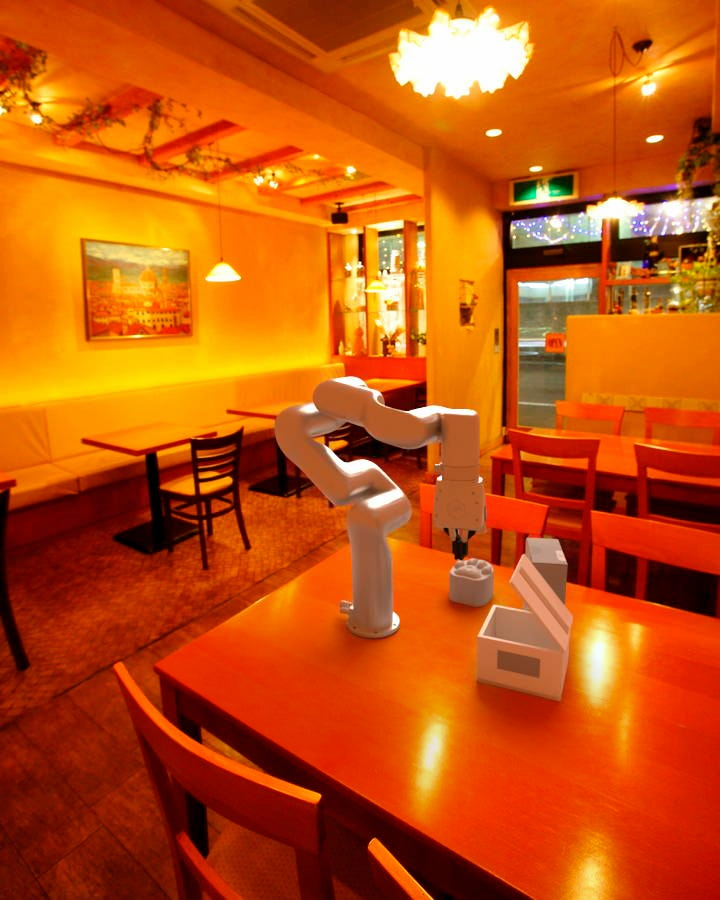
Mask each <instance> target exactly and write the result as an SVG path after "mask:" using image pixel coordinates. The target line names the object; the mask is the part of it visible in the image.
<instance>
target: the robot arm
mask: <svg viewBox="0 0 720 900" xmlns="http://www.w3.org/2000/svg"><path fill="white" fill-rule="evenodd" d="M346 423H350V424H354V425H356V426H359V427H362V428H364V429H365V431H366V432H367V433H368V434H369V435H370V436H371V437H373V438H374V439H375V440H377V441H380V442H382V443H384V444H387V445H391V446H394V447H396V448H401V449H405V450H415V449H419V448H422V447H425V446H428V445H430V444H435V443H439V442H440V463H439V464H436V463H435V464H434V472H438V473H439V474H440V475H439V477H437V478H436V482H435V489H434V496H433V497H434V498H433V510H432V519H433V523H434V525H433V527H434V528H435V529H437V530H439V531H443V532H444V533H445V534H446V535H447V536H448V537H449V539H450V541H451V554H452V555H453V556H454V560H456V561H459V560H460V561H464V559H465V558H466V556H468V554H469V540H470V539H471V538H472V537H473V536H476V535H477V536H478V535H485V534H486V532H487V531H488V529H487V525H486V522H487V501H486V499H487V498H486V492H485V485H484V480H483V478H482V477H480V446H481V445H480V439H481V438H480V437H481V436H480V435H481V434H480V433H481V432H480V430H481V429H480V427H481V426H480V423H481V421H480V416H479V413H478V412H476V411H475V410H473V409H472V410H471V409H462V408H461V409H452V408H447V407H443V406H439V405H429V406H425V407H421V408H416V409H412V410H409V411H405V410H401V409H398V408H397V409H396V408H392V407H389V406H387V405H385V399H384V395H383V394H382V393H381V392H380V391H379V390H376V389H372V388H369V387H368V385H367V384H366V383H365V382H364V381H363V380H362V379H360V378H359V377H355V376H346V377H339V378H331V379H326V380H324V381H322V382H320V383H319V384H317V386H315V388H314V390H313V393H312V401H311V402H306V403H301V404H296V405H292V406H289V407H287V408H285V409H283V410H281V412H280V413H278V414H277V416H276V418H275V421H274V427H273V428H274V435H275V439H276V442H277V443H276V444H277V445H278V447H279V448H280V450H281V451H282V453H283V454H284V455H285V457H286V458H288V460H290V461H291V463H293V464H294V465H295V466H296V467H298V468H299V469H300V470H301V471H302V472H303V474H305V475H306V476H307V478H308V479H309V480H310V482H312V483H313V484H314V486H315V487H316V488H317V489H318V490H319V491H320V492H321V493H322V494H323V496H325V498H326V499H327V500H328V501H329V502H330V503H332V504H333V505H334V506H338V507H345V506H347V505H351V504H353V503H354V504H353V505H352V506H351V507H350V508H349V510H348V511H347V513H346V516H345V517H346V519H345V523H346V524H345V525H346V530H347V534H348V539H349V544H350V554H351V574H352V575H351V576H352V577H351V581H352V602H350V601H346V600H340V602H339V613H340V614H344V615H345V614H346V615H348V618H347V623H346V625H347V626H346V627H347V629H348V630H349V631H350V632H351V633H352V634H354V635H356V636H358V637H362V638H365V639H378V638H384V637H388V636H390V635H393V634H394V633H395V632H397V631H398V630H399V629H400V626H401V625H400V624H401V623H400V622H401V621H400V617H399V616H398V615H397V613H395V612H394V581H393V580H394V579H393V578H394V577H393V574H394V573H393V572H394V571H393V552H392V550H391V546H390V545H389V543H388V539H387V535H388V534H390V533H392V532H394V531H395V530H398V529H399V528H401V527H403V526H404V525H405V524H407V523H408V521H410V520H411V516H412V503H411V502H410V500H409V498H408V496H407V495H406V494H405V492H404V491H403V490H402V489H401V488H400V487H399V486H398V485H397V484H396V483H395V482H394V481H393V480H392V478H390V477H389V476H388V475H387V474H386V473H385V472H384V471H383V469H382V468H380V467H379V466H378V465H377V464H376V463H374V462H372V461H369V460H367V459H356V460H352V461H349V462H344V461H343V460H342V459H340V458H339V457H338V456H337V455H336V454H335V453H334V452H333V450H332V449H330V447H328V446H326V445H325V444H323V443H320V442H318V441H317V440H315V439H313V438H315V437H318V436H323V435H325V434H330V433H332V432H334V431H336V430H338V429H339V428H341V427H342V426H343V425H345V424H346ZM460 530H462V532H461V535H460V532H459V531H460Z"/></svg>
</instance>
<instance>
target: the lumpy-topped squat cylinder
mask: <svg viewBox="0 0 720 900" xmlns="http://www.w3.org/2000/svg"><path fill="white" fill-rule="evenodd" d="M494 569H495V568H494V567H493V565H492V564H491V563H489V562H488V561H486V560H483V559H478V558H475V557H474V558H469V559H466V560H462V561H461V560H459V559H458V560H456V562H455V563H454V565H453V566H452V568H451V569H450V570H449V586H448V587H449V589H448V591H449V593H448V594H449V595H448V597H449V600H451V601H452V602H454V603H459V604H463V605H468V606H470V607H475V608H476V607H479V608H480V607H482V606H485V605H487V604H488V603H489V602H490V601H491V600H492V598H493V597H494V583H495V582H494V579H495V570H494Z"/></svg>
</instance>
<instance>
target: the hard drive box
mask: <svg viewBox="0 0 720 900" xmlns="http://www.w3.org/2000/svg"><path fill="white" fill-rule="evenodd" d="M525 555H526V556H527V558H528V559H529V560H530V562H531V563H532V564H533V565H534V567H535V568H536V569H537V571H538V572H539V573H540V574H541V576H542V577H543V578H544V580H545V581H546V582H547V583H548V585H549V586H550V587H551V589H552V590H553V591H554V592H555V594H556V595H557V596H558V598H559V599H560V600H561V601H562V603H563V604H564V605H565V606H566V596H567V595H566V593H567V580H568V579H567V577H568V565H569V564H568V562H567V559H566V556H565V554H564V552H563V549H562V546H561V543H560V541H559V539H557V538H545V537H544V538H542V537H541V538H540V537H526V539H525ZM522 603H523V604H522V608H523V609H522V610H526V611H530V610H529V608H528V607H527V606H526V604H525V603H524V602H523V601H522Z"/></svg>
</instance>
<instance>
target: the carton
mask: <svg viewBox="0 0 720 900" xmlns="http://www.w3.org/2000/svg"><path fill="white" fill-rule="evenodd" d="M570 637H571V634H570V635H569V640H568V644H567V649H566V652H565V653H563V652H562V651H561V650H560V649H559V647H558V646H557V645H556V643H555V642H554V641H553V639H552V638H551V637H550V636H549V634H548V633H547V632H546V630H545V629H544V628H543V626H542V625H541V624H540V623H539V621H538V620H537V619H536V617H535V616H534V615H533V613H532V612H531V611H526V610H523V609H519V608H514V607H509V606H504V605H503V606H502V605H498V604H493V605H492V606H491V609H490V610H489V613H488V615H487V616H486V619H485V620H484V622H483V625H482V626H481V629H480V631H479V633H478V634H477V648H476V650H477V651H476V652H477V653H476V682H479V683H483V684H485V685H486V684H487V685H489V686H495V687H498V688H503V689H506V690H511V691H515V692H519V693H523V694H527V695H531V696H535V697H539V698H544V699H548V700H553V701H556V702H561V700H562V695H563V690H564V685H565V680H566V675H567V671H568V664H569V655H570V640H571V639H570Z"/></svg>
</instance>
